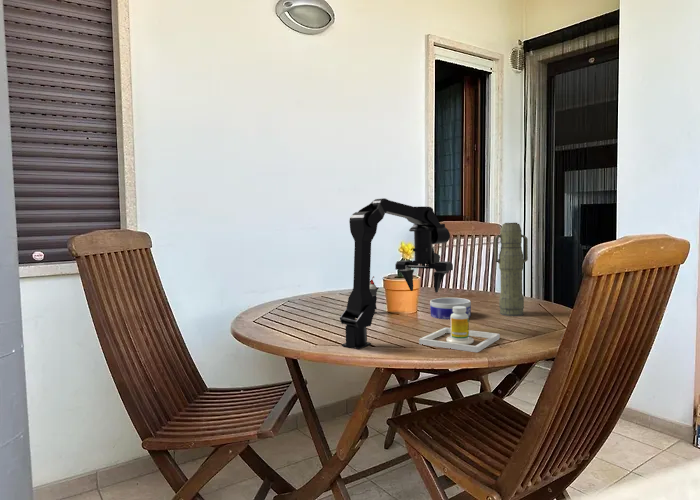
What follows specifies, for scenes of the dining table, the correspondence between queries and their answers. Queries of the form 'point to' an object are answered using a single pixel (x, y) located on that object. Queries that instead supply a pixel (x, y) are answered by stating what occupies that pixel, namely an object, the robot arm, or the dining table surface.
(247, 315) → the dining table surface
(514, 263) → the thermos
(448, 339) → the plinth
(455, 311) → the supplement bottle
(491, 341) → the corral
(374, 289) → the sundae
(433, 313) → the dog bowl
